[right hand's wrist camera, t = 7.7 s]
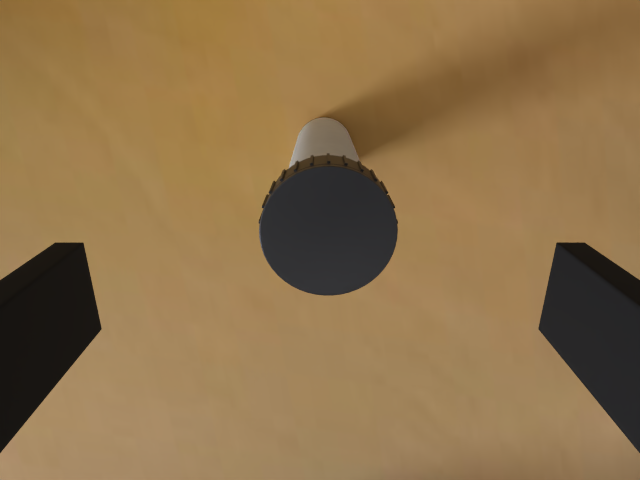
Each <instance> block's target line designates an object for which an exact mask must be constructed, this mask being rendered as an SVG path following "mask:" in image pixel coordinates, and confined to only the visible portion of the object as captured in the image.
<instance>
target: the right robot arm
mask: <svg viewBox="0 0 640 480" xmlns="http://www.w3.org/2000/svg"><path fill="white" fill-rule="evenodd" d="M100 330H101V324H100V319H99V315H98V310H97V305H96V300H95V296H94V291H93V286H92V281H91V277H90V272H89V267H88V262H87V258H86V253H85V248H84V243H54V244H53V245H51V246H50V247H48V248H47V249H45V250H44V251H42V252H41V253H40V254H38V255H37V256H35V257H34V258H32V259H31V260H29V261H28V262H26V263H25V264H23V265H22V266H21V267H19V268H18V269H16V270H15V271H13V272H12V273H10V274H9V275H7V276H6V277H4V278H3V279H1V280H0V453H1V451H2V450H3V449H4V448H5V447H6V445H7V444H8V443H9V442H10V440H11V439H12V438H13V437H14V436H15V434H16V433H17V432H18V431H19V429H20V428H21V427H22V426H23V425H24V423H25V422H26V421H27V420H28V418H29V417H30V416H31V415H32V414H33V412H34V411H35V410H36V409H37V407H38V406H39V405H40V404H41V403H42V401H43V400H44V399H45V398H46V396H47V395H48V394H49V393H50V391H51V390H52V389H53V388H54V387H55V385H56V384H57V383H58V382H59V380H60V379H61V378H62V377H63V376H64V374H65V373H66V372H67V371H68V369H69V368H70V367H71V366H72V365H73V363H74V362H75V361H76V360H77V358H78V357H79V356H80V355H81V354H82V352H83V351H84V350H85V349H86V347H87V346H88V345H89V344H90V343H91V341H92V340H93V339H94V338H95V336H96V335H97V334H98V333H99V332H100ZM539 330H540V332H541V333H542V334H543V335H544V336H545V338H546V339H547V340H548V341H549V343H550V344H551V345H552V346H553V347H554V349H555V350H556V351H557V352H558V354H559V355H560V356H561V357H562V358H563V360H564V361H565V362H566V363H567V365H568V366H569V367H570V368H571V369H572V371H573V372H574V373H575V374H576V376H577V377H578V378H579V379H580V380H581V382H582V383H583V384H584V385H585V387H586V388H587V389H588V390H589V391H590V393H591V394H592V395H593V396H594V398H595V399H596V400H597V401H598V403H599V404H600V405H601V406H602V407H603V409H604V410H605V411H606V412H607V414H608V415H609V416H610V417H611V418H612V420H613V421H614V422H615V423H616V425H617V426H618V427H619V428H620V429H621V431H622V432H623V433H624V434H625V436H626V437H627V438H628V439H629V440H630V442H631V443H632V444H633V445H634V447H635V448H636V449H637V450H638V451H639V453H640V280H639V279H637V278H636V277H634V276H633V275H631V274H630V273H628V272H627V271H625V270H624V269H622V268H621V267H620V266H618V265H617V264H615V263H614V262H612V261H611V260H609V259H608V258H606V257H605V256H603V255H602V254H600V253H599V252H598V251H596V250H595V249H593V248H592V247H590V246H589V245H587V244H586V243H556V248H555V253H554V258H553V262H552V267H551V272H550V277H549V281H548V286H547V291H546V296H545V300H544V305H543V310H542V315H541V319H540V324H539Z"/></svg>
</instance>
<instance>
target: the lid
mask: <svg viewBox="0 0 640 480" xmlns="http://www.w3.org/2000/svg"><path fill="white" fill-rule="evenodd" d="M387 194H388V191H387V189H386V188H385V186H384V184H383V182H382V181H381V182H380V181H379V180H378V179H377V177H376V176H375V174H374V172H373V170H372V169H371V170H369V169H367V168H366V167H365V166H363V165H362V164H361V162H360V161H358V162H356V161H354V160H351V159H349V158H346V156H345V155H343V157H342V156H335V155H330V153H327V155H321V156H313V155H311V156H310V158H307V159H304V160H302V161H300V162H299V161H298V160H297V161H296V162H295V164H294V165H293V166H291V167H290V168H289V169H287V170H285V169H284V170H283V171H282V174H281V176H280V177H279V178H278V180H277V181H276V182H275V181H273V183H272V186H271V188H270V191H269V195H266V198H265V200H264V203H263V205H262V208H264V209H263V211H262V214H261V217H260V219H259V223H260V227H259V235H260V236H259V237H260V243H261V247H262V250H263V253H264V256H265V258H266V260H267V262H268V263H269V265H270V266H271V268H272V269H273V270H274V271H275V272H276V274H277V275H278V276H279V277H281V278H282V279H283V280H284V281H285V282H287V283H288V284H290V285H291V286H293V287H295V288H297V289H299V290H302V291H305V292H307V293H312V294H316V295H339V294H344V293H349V292H351V291H354V290H357V289H359V288H361V287H363V286H365V285H366V284H368V283H369V282H371V281H372V280H373V279H374V278H376V277H377V276H378V275H379V274H380V273H381V272H382V271H383V269H384V268H385V267H386V265H387V264H388V262H389V260H390V259H391V257H392V255H393V252H394V249H395V246H396V241H397V232H398V228H397V224H398V221H397V219H396V215H395V211H394V209H393V208H395V206H394V204H393V202H392V200H391V198H390V196H389V195H387Z"/></svg>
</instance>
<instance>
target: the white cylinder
mask: <svg viewBox="0 0 640 480" xmlns="http://www.w3.org/2000/svg"><path fill="white" fill-rule="evenodd" d="M327 153H330V155H335V156H342V157H343V155H345V156H346V158H349V159H351V160H354V161H356V162H358V161H360V160H359V157H358V155H357V152H356V150H355V147H354V145H353V143H352V140H351V138H350V135H349V133H348V131H347V129H346V128H345V127H344V126H343V125H342V124H341V123H340V122H338V121H337V120H334V119H331V118H326V117H322V118H317V119H314V120H312V121H310V122H308V123H307V124H306V125H305V126H304V127H303V128H302V129H301V131H300V133H299V135H298V138H297V142H296V145H295V149H294V152H293V155H292V159H291V162H290V166H289V168H290V167H291V166H293V165H294V164H295V162H296V161H297V160H298V161H299V162H300V161H302V160H304V159H307V158H310V156H311V155H313V156H321V155H327Z"/></svg>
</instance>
